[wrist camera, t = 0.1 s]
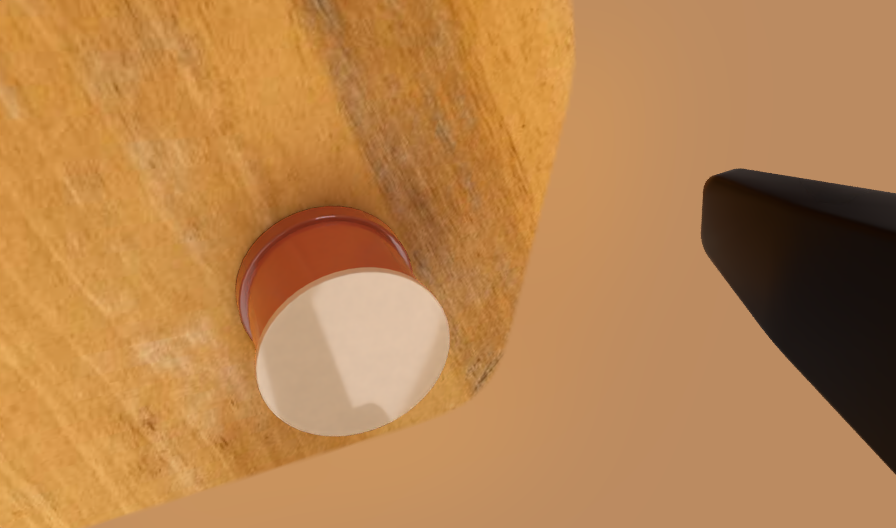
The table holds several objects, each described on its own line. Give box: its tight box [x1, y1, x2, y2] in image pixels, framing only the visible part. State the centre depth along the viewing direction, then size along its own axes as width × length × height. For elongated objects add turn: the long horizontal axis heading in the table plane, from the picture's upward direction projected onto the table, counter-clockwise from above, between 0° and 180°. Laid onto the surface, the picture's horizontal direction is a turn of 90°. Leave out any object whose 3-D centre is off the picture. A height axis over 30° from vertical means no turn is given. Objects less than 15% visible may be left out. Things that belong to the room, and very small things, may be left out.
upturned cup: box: [236, 206, 450, 436], centre depth 27 cm, size 6×6×4 cm
